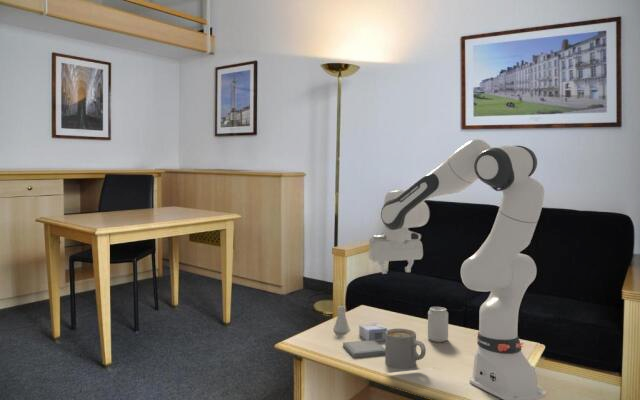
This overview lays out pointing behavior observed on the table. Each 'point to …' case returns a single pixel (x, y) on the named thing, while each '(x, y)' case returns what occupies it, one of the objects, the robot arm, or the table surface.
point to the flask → (341, 321)
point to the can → (438, 324)
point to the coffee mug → (402, 348)
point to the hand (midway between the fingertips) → (396, 272)
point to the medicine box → (372, 332)
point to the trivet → (364, 348)
